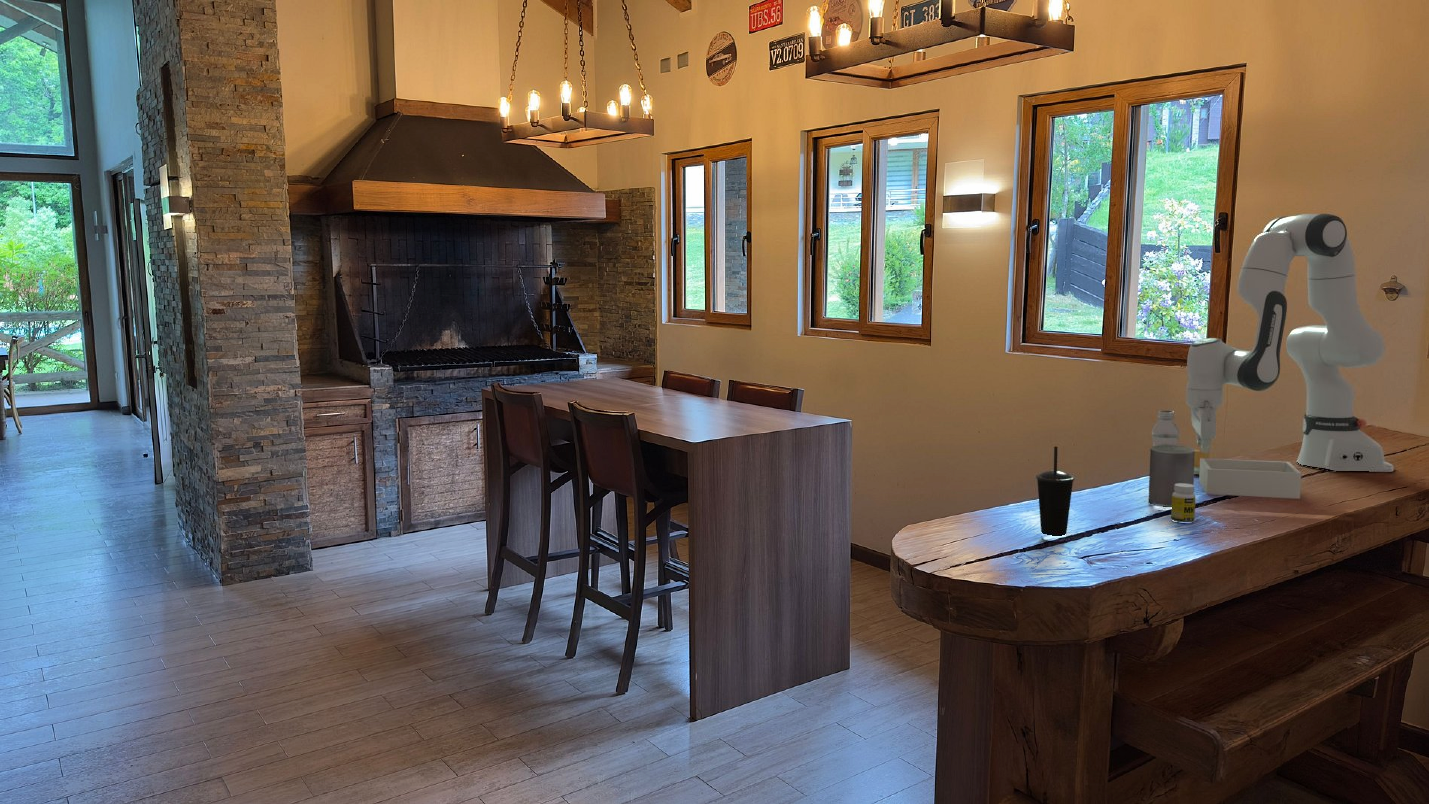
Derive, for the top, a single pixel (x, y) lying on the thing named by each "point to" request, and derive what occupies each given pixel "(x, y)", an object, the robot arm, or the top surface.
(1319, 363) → the robot arm
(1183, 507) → the supplement bottle
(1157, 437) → the plastic bottle
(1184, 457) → the pillar candle
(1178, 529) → the top surface
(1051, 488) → the drinking cup
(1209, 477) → the tub
